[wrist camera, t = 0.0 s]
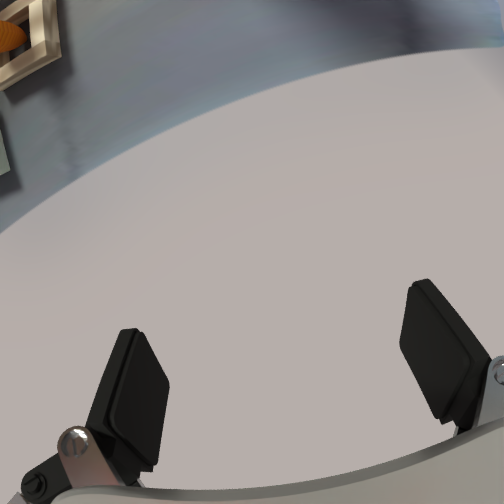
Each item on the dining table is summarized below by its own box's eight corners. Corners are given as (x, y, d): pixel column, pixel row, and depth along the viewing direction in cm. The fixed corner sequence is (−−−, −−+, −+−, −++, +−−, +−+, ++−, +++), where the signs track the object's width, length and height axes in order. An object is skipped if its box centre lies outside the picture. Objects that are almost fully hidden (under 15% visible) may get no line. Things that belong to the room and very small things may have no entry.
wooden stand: (-3, 27, 24) (-18, 26, 20) (55, -10, 23) (41, -16, 20) (3, 90, 29) (-13, 92, 26) (61, 56, 29) (46, 54, 25)
